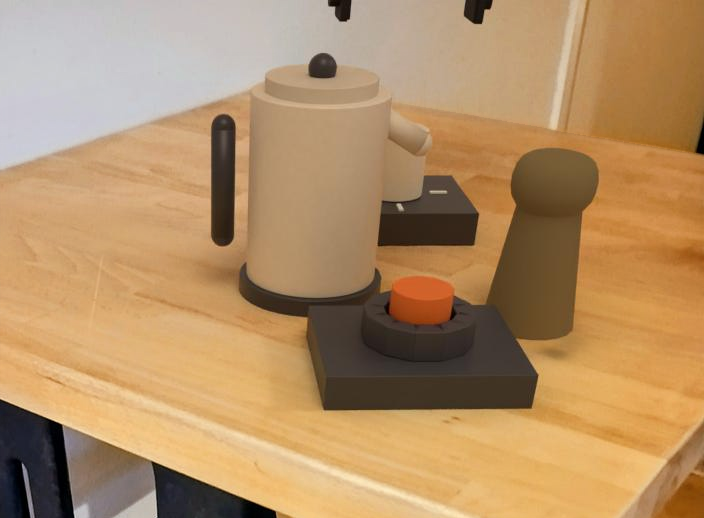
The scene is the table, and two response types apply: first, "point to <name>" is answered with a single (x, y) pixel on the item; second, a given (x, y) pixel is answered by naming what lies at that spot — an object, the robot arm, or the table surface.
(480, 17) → the robot arm
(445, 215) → the panel
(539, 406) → the table surface
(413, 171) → the knob
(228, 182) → the kettle
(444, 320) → the power button
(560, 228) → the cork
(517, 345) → the switch block
